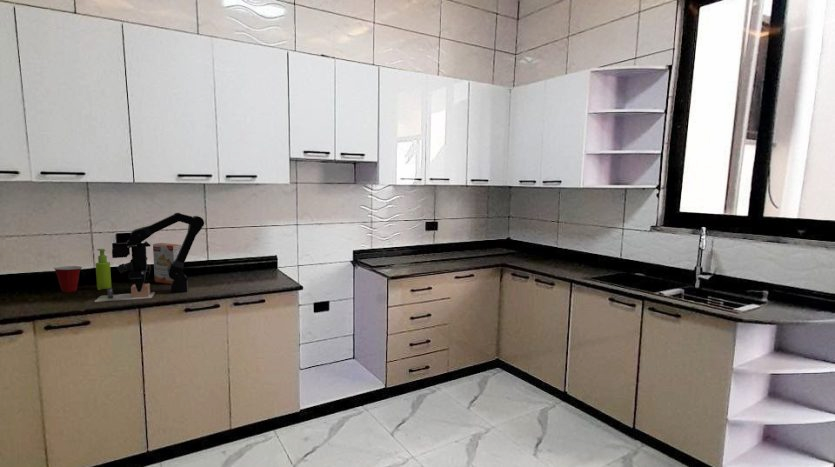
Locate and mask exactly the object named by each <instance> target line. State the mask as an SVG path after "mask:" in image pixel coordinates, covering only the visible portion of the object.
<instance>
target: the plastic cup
mask: <svg viewBox="0 0 835 467" xmlns="http://www.w3.org/2000/svg"><path fill="white" fill-rule="evenodd" d="M82 268H83V266H80V265H66V266H65V265H64V266H54V267H53V269H54V271H55V274H56V277H57V280H58V284H59V286H60V287H59V288H60V290H61V292H62V293H71V292H75V291H77V290H78V284H79V279H80V272H81V270H82Z"/></svg>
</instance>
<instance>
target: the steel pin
mask: <svg viewBox="0 0 835 467" xmlns="http://www.w3.org/2000/svg"><path fill="white" fill-rule="evenodd" d="M106 291H107V295H108V298H113V295H114V289H113V287H111V288H107V289H106Z"/></svg>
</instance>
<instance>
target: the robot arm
mask: <svg viewBox="0 0 835 467" xmlns="http://www.w3.org/2000/svg"><path fill="white" fill-rule="evenodd" d="M179 222H180V223H182V224H183V223H184V224H187V225H188V227H187V233H186V235H185V238H184V240H183V242H182V244H181V245H182V246H181V249H180V251H179V253H178V255H177V258H176V259H175V261H174V262H171V261H170V264H169V267H168V268H167V270H168V275H169V277H170V278H171V279H173V280H174V281H173V282H172V284H170V290H171V294H182V293H188V291H189V290H188V288H189V283H188V276H187V275H186V274H185V273H184V268H185V262H186V259H187V258H188V255H189V254H190V250H191V248H192V246H193V243H194V242H195V240H196V237H197V235H198V234H199V232H200V231H201V230H202V229H203V227H204V225H205V220H204V218H202V217H201V216H198V215H194V216H193V215H192V216H191V215H187V214H183V213H181V212H175V213H174V214H171V215H169V216H168V217H165V218H163V219H161V220H159V221H156V222H154V223H153V224H150V225H146V226H142V227H139V228H136V229H133V230H132V231H131V232H130V237H129V239H128V240H126V242H112V244H111V245H112V247H111V248H112V249H111V254H112V255H111V256H112V258H111V259H118V258H119V259H120V258H121V259H123V258H128V256H130V255H131V259H130V260H129V262H126V263H122V264H119V265H118V266H117V271H118V272H119V274H124V273H125V272H128V271H130V272H129V273H128V275H127V278H128V279H129V280H131V282H133V283H134V284H135V286H136V288H137V291H138V292H140V291H141V289H142V286H143V284H147V281H148V278H149V275H150V273H151V270H152V268H151V265H150V264H148V262H147V261H148V257H147V248H148V247H149V248H150V247H151V244H150V243H149V242H148V241H147V239H149V238H150V236H153V235H154V234H156V233H157V232H159V231H162V230H164V229H166V228H167V227H168V228H169V227H170V226H172V225H174V224H176V223H179ZM130 248H131V249H130Z"/></svg>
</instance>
